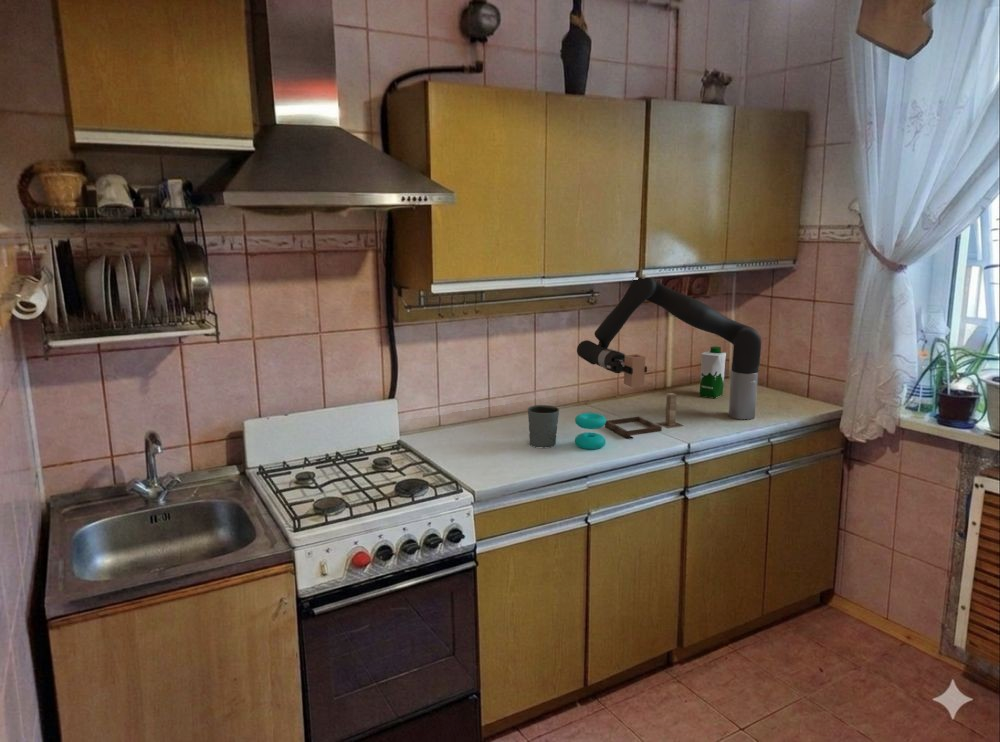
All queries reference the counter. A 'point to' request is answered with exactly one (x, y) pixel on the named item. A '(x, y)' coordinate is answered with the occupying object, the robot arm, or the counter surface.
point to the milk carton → (712, 372)
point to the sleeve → (635, 370)
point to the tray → (627, 434)
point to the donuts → (589, 438)
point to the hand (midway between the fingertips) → (638, 370)
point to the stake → (670, 412)
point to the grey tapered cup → (543, 425)
